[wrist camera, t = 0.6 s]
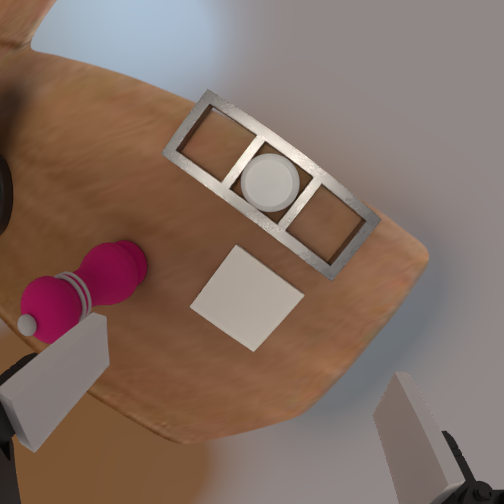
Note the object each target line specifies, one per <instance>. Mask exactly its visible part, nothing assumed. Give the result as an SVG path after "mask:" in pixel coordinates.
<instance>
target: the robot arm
mask: <svg viewBox="0 0 504 504" xmlns="http://www.w3.org/2000/svg"><path fill="white" fill-rule="evenodd" d="M11 208H12V181H11V175H10V171H9V168H8V166H7V164H6V162H5V160H4V159H3V158H2V157H1V156H0V234H1V233H2V232H3V231H4V230H5V228H6V226H7V224H8V221H9V218H10V214H11ZM109 365H110V364H109V352H108V338H107V318H106V316H103V315H100V314H97V313H94V312H93V313H91V314H90V315H89V316H87V317H86V318H85V319H83V320H82V321H81V322H79V323H78V324H77V325H76V326H74V327H73V328H72V329H70V330H69V331H68V332H67V333H65V334H64V335H63V336H61V337H60V338H59V339H58V340H56V341H55V342H54V343H53V344H51V345H50V346H49V347H47V348H46V349H45V350H44V351H42V352H41V353H40V354H37V353H35V352H34V353H32V354H29V355H26V356H24V357H23V358H21V359H20V360H19V361H18V362H16V364H14V365H12V366H11V367H10V369H8V370H6V371H5V372H4V373H2V374H1V375H0V504H21V501H20V495H19V489H18V482H17V476H16V468H15V458H14V447H13V441H12V438H11V437H12V436H13V435H14V434H16V436H17V438H18V440H19V442H20V443H21V444H22V445H24V446H25V447H27V448H28V449H30V450H31V451H33V452H34V453H35V452H36V451H37V450H38V448H39V447H40V446H41V445H42V444H43V442H44V441H45V440H46V439H47V437H48V436H49V435H50V434H51V433H52V431H53V430H54V429H55V428H56V427H57V425H58V424H59V423H60V422H61V421H62V419H63V418H64V417H65V416H66V415H67V413H68V412H69V411H70V410H71V409H72V407H73V406H74V405H75V404H76V403H77V402H78V401H79V399H80V398H81V397H82V396H83V395H84V393H85V392H86V391H87V390H88V389H89V388H90V387H91V385H92V384H93V383H94V382H95V381H96V380H97V379H98V377H99V376H100V375H101V374H102V373H103V372H104V371H105V369H106V368H107V367H108V366H109ZM373 418H374V421H375V424H376V427H377V430H378V433H379V436H380V440H381V443H382V446H383V449H384V452H385V455H386V459H387V462H388V466H389V469H390V473H391V476H392V479H393V483H394V486H395V490H396V494H397V497H398V501H399V504H504V490H492V488H491V487H490V486H489V484H487V483H485V482H482V481H476V480H475V478H474V477H473V474H472V472H471V470H470V468H469V466H468V464H467V462H466V461H465V458H464V457H463V456H462V453H461V451H460V449H458V445H457V443H456V441H455V440H454V438H453V437H452V436H451V435H450V434H449V433H447V431H441V430H440V428H439V426H438V424H437V423H436V421H435V419H434V417H433V415H432V414H431V412H430V410H429V408H428V406H427V404H426V402H425V401H424V399H423V397H422V395H421V394H420V392H419V390H418V388H417V387H416V385H415V383H414V382H413V380H412V378H411V376H410V375H409V373H408V372H394V374H393V376H392V378H391V380H390V383H389V384H388V387H387V389H386V391H385V393H384V395H383V397H382V399H381V401H380V402H379V404H378V406H377V408H376V410H375V412H374V414H373Z"/></svg>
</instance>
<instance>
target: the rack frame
mask: <svg viewBox="0 0 504 504" xmlns="http://www.w3.org/2000/svg"><path fill="white" fill-rule="evenodd" d="M213 107H214V108H216V109H217V110H219V111H220V112H222V113H223V114H225V115H226V116H228V117H229V118H231V119H232V120H234V121H235V122H237V123H238V124H240V125H241V126H243V127H244V128H246V129H247V130H249V131H250V132H251V133H253V134H254V135H256V138H255V139H254V140H253V142H252V143H251V144H250V145H249V147H248V148H247V149H246V151H245V152H244V153H243V155H242V156H241V157H240V159H239V160H238V161H237V163H236V164H235V165H234V167H233V168H232V169H231V171H230V172H229V173H228V175H227V176H226V178H225V179H224V180H223V182H222V181H220V180H219V179H218V178H216V177H215V176H214V175H212V174H211V173H209V172H208V171H207V170H205V169H204V168H202V167H201V166H200V165H198V164H197V163H195V162H194V161H193V160H191V159H190V158H188V157H187V156H186V155H184V154H183V153H181V150H182V149H183V147H184V146H185V145H186V143H187V142H188V140H189V139H190V137H191V136H192V135H193V133H194V132H195V131H196V129H197V128H198V126H199V125H200V124H201V122H202V121H203V120H204V118H205V117H206V116H207V114H208V113H209V112H210V110H211V109H212V108H213ZM265 143H267V144H268V145H270V146H271V147H273V148H274V149H275V150H277V151H278V152H279V153H281V154H282V155H283V156H285V157H286V158H288V159H289V160H290V161H292V162H293V163H294V164H295V165H297V166H298V167H299V168H301V169H302V170H303V171H305V172H306V173H307V174H308V175H310V176H311V177H312V179H311V180H310V181H309V183H308V184H307V185H306V187H305V188H304V189H303V190H302V192H301V193H300V194H299V196H298V197H297V198H296V199H295V201H294V202H293V203H292V205H291V206H290V207H289V209H288V210H287V211H286V212H285V214H284V215H283V216H282V218H281V219H280V220H279V221H278V223H277V222H276V221H274V220H273V219H272V218H270V217H269V216H268V215H266V214H265V213H264V212H262V211H261V210H258V209H256V208H255V207H253V206H252V205H251V204H250V203H249V202H248V201H247V200H246V199H245V198H244V197H242V196H241V195H240V194H238V193H237V192H236V191H234V190H233V189H231V188H232V187H233V185H234V184H235V183H236V181H237V180H238V179H239V177H240V176H241V175H242V172H243V170H244V168H245V166H246V165H247V164H248V163H249V162H250V161H251V160H252V159H253V158H254V157H255V156H256V155H257V153H258V152H259V151H260V150H261V148H262V147H263V146H264V144H265ZM161 154H162V155H163V156H165V157H166V158H168V159H169V160H170V161H172V162H173V163H175V164H176V165H177V166H179V167H180V168H181V169H183V170H184V171H186V172H187V173H188V174H190V175H191V176H192V177H194V178H195V179H197V180H198V181H199V182H201V183H202V184H203V185H205V186H206V187H208V188H209V189H210V190H212V191H213V192H214V193H216V194H217V195H218V196H220V197H221V198H223V199H224V200H225V201H227V202H228V203H229V204H231V205H232V206H233V207H235V208H236V209H237V210H239V211H240V212H241V213H243V214H244V215H245V216H247V217H248V218H249V219H251V220H252V221H253V222H255V223H256V224H257V225H259V226H260V227H261V228H263V229H264V230H265V231H267V232H268V233H269V234H271V235H272V236H273V237H275V238H276V239H277V240H279V241H280V242H281V243H282V244H284V245H285V246H286V247H288V248H289V249H290V250H292V251H293V252H294V253H296V254H297V255H298V256H299V257H301V258H302V259H303V260H305V261H306V262H307V263H309V264H310V265H311V266H312V267H314V268H315V269H316V270H318V271H319V272H320V273H321V274H323V275H324V276H325V277H327V278H328V279H329V280H330V281H332V280H333V279H334V278H335V277H336V275H337V274H338V273H339V272H340V271H341V269H342V268H343V267H344V266H345V265H346V263H347V262H348V261H349V260H350V259H351V257H352V256H353V255H354V254H355V252H356V251H357V250H358V249H359V247H360V246H361V245H362V244H363V242H364V241H365V240H366V239H367V237H368V236H369V235H370V233H371V232H372V231H373V230H374V228H375V227H376V226H377V224H378V223H379V222H380V220H381V219H380V218H379V217H378V216H377V215H376V214H375V213H374V212H373V211H372V210H370V209H369V208H368V207H367V206H366V205H365V204H364V203H363V202H361V201H360V200H359V199H358V198H357V197H356V196H354V195H353V194H352V193H351V192H350V191H349V190H347V189H346V188H345V187H344V186H342V185H341V184H340V183H339V182H338V181H336V180H335V179H334V178H333V177H332V176H330V175H329V174H328V173H327V172H325V171H324V170H323V169H322V168H320V167H319V166H318V165H317V164H315V163H314V162H313V161H311V160H310V159H309V158H307V157H306V156H305V155H303V154H302V153H301V152H300V151H298V150H297V149H296V148H294V147H293V146H291V145H290V144H289V143H287V142H286V141H285V140H283V139H282V138H281V137H279V136H278V135H277V134H275V133H274V132H272V131H271V130H269V129H268V128H267V127H265V126H264V125H262V124H261V123H259V122H258V121H256V120H255V119H254V118H252V117H251V116H249V115H248V114H246V113H244V112H243V111H242V110H240V109H238V108H237V107H235V106H233V105H232V104H231V103H229V102H228V101H226V100H225V99H223V98H221V97H220V96H218V95H216V94H215V93H213V92H212V91H210V90H207V91H206V92H205V93H204V95H203V96H202V97H201V99H200V100H199V101H198V102H197V104H196V105H195V106H194V108H193V109H192V110H191V112H190V113H189V114H188V116H187V117H186V119H185V120H184V121H183V123H182V124H181V125H180V127H179V128H178V130H177V131H176V132H175V134H174V135H173V137H172V138H171V140H170V141H169V143H168V144H167V145H166V147H165V148H164V150H163V151H162V153H161ZM320 185H322V186H324V187H325V188H326V189H327V190H329V191H330V192H331V193H332V194H333V195H335V196H336V197H337V198H338V199H340V200H341V201H342V202H343V203H344V204H346V205H347V206H348V207H349V208H350V209H351V210H353V211H354V212H355V213H356V214H357V215H358V216H360V217H361V218H362V220H361V221H360V223H359V224H358V225H357V227H356V228H355V229H354V230H353V232H352V233H351V234H350V235H349V237H348V238H347V239H346V241H345V242H344V243H343V244H342V246H341V247H340V248H339V249H338V250H337V252H336V253H335V254H334V255H333V257H332V258H331V259H330V260H329V262H327V261H326V260H324V259H323V258H322V257H321V256H319V255H318V254H317V253H316V252H314V251H313V250H312V249H310V248H309V247H308V246H307V245H305V244H304V243H303V242H302V241H300V240H299V239H298V238H296V237H295V236H294V235H292V234H291V233H290V232H289V231H287V230H286V228H287V227H288V226H289V225H290V223H291V222H292V221H293V219H294V218H295V217H296V216H297V214H298V213H299V212H300V210H301V209H302V208H303V207H304V205H305V204H306V203H307V201H308V200H309V199H310V198H311V196H312V195H313V194H314V192H315V191H316V190H317V189H318V187H319V186H320Z"/></svg>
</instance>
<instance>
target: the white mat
mask: <svg viewBox="0 0 504 504" xmlns="http://www.w3.org/2000/svg"><path fill="white" fill-rule="evenodd" d="M303 297H304V293H302V292H301V291H300V290H298V289H297V288H296V287H294V286H293V285H292V284H290V283H289V282H288V281H286V280H285V279H284V278H282V277H281V276H279V275H278V274H277V273H275V272H274V271H273V270H271V269H270V268H269V267H267V266H266V265H265V264H263V263H262V262H261V261H259V260H258V259H257V258H255V257H254V256H253V255H251V254H250V253H249V252H247V251H246V250H245V249H243V248H242V247H241V246H239V245H238V244H236V245H235V246H234V248H233V249H232V250H231V252H230V253H229V255H228V256H227V257H226V259H225V260H224V261H223V263H222V264H221V265H220V267H219V268H218V269H217V271H216V272H215V273H214V275H213V276H212V277H211V279H210V280H209V281H208V283H207V284H206V285H205V287H204V288H203V289H202V291H201V292H200V294H199V295H198V296H197V298H196V299H195V300H194V302H193V303H192V304H191V306H190V308H192V309H193V310H194V311H196V312H197V313H198V314H200V315H201V316H203V317H204V318H205V319H207V320H208V321H210V322H211V323H212V324H214V325H215V326H217V327H218V328H219V329H221V330H222V331H224V332H225V333H227V334H228V335H230V336H231V337H232V338H234V339H235V340H237V341H238V342H240V343H241V344H243V345H244V346H246V347H247V348H249V349H250V350H252V351H253V352H254V351H255V350H256V349H257V348H258V347H259V346H260V345H261V343H262V342H263V341H264V340H265V339H266V338H267V337H268V336H269V335H270V334H271V333H272V332H273V330H274V329H275V328H276V327H277V326H278V325H279V324H280V323H281V322H282V320H283V319H284V318H285V317H286V316H287V315H288V314H289V313H290V311H291V310H292V309H293V308H294V307H295V306H296V305H297V304H298V302H299V301H300V300H301V299H302V298H303Z"/></svg>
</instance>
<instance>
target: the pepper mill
mask: <svg viewBox="0 0 504 504" xmlns="http://www.w3.org/2000/svg"><path fill="white" fill-rule="evenodd" d="M146 273H147V261H146V258H145V255H144V253H143V252H142V250H141V249H140V248H139V247H138V246H137V245H136V244H134V243H132V242H130V241H126V240H122V241H118V242H115V243H102V244H100V245H98V246H96V247H94V248H93V249H92V250H90V251H89V253H88V254H87V255H86V256H85V257H84V259H83V261H82V263H81V265H80V267H79V269H78V270H76V271H75V272H73V273H71V272H62V273H60V274H58V275H56V276H54V277H51V276H43V277H40V278H37V279H35V280H34V281H32V282H31V283H30V284H29V285H28V286H27V287H26V289H25V290H24V292H23V295H22V298H21V314H22V316H20V318H19V319H18V323H17V325H18V329H19V331H20V332H21V333H22V334H23V335H25V336H31V335H34V336H35V337H36V338H37V339H39V340H40V341H42V342H45V343H49V344H53V343H54V342H55V341H56V340H58V339H59V338H60V337H61V336H63V335H64V334H65V333H67V332H68V331H69V330H70V329H72V328H73V327H74V326H76V325H77V324H78V323H79V322H81V321H82V320H83V319H85V318H86V317H87V316H88V315H89V314H90V311H91V307H93V306H96V305H112V304H116V303H120V302H122V301H124V300H125V299H127V298H128V297H130V296H131V295H132V294H133V292H134V290H135V289H136V286H137V285H139V284H140V283H141V282H142V281H143V279H144V278H145V276H146Z"/></svg>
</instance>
